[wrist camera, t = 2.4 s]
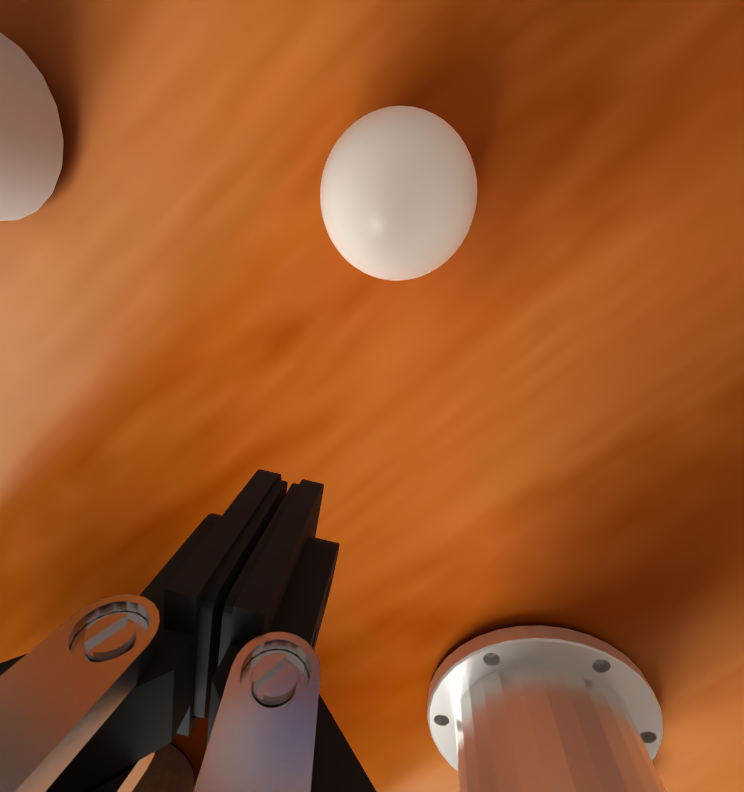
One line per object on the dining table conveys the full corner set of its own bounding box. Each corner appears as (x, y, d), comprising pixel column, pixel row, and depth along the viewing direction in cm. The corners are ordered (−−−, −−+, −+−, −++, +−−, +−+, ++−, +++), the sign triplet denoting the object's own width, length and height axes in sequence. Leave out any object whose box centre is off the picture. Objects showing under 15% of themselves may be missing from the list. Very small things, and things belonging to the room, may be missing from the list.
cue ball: (493, 229, 17) (524, 209, 12) (383, 304, 18) (366, 316, 13) (423, 105, 16) (422, 21, 11) (313, 194, 17) (264, 159, 12)
